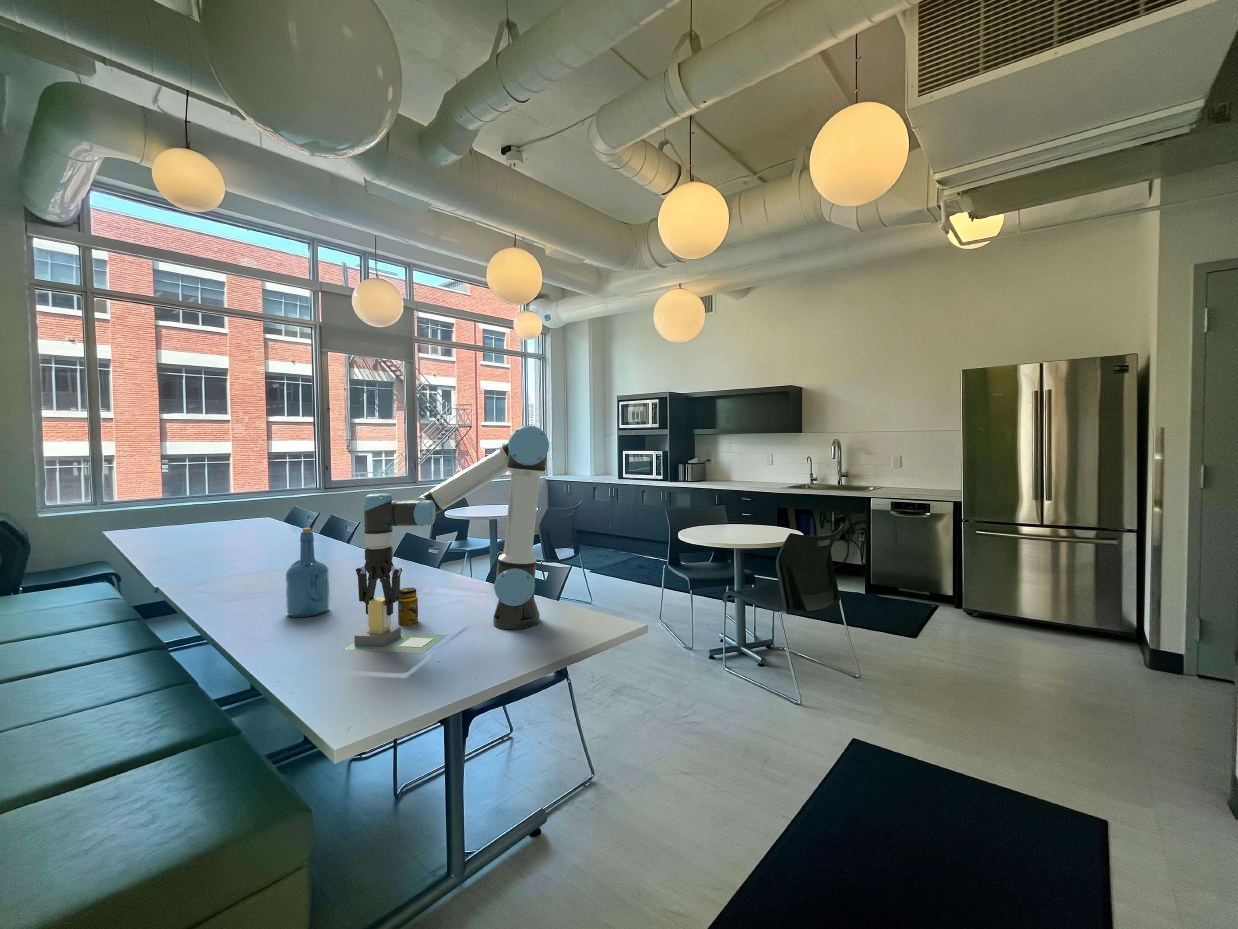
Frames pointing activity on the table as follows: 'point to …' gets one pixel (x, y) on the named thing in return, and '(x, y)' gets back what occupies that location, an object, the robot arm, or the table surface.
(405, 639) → the green board with socket
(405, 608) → the condiment
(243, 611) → the table surface
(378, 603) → the plug
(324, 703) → the table surface
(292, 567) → the wine bottle
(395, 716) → the table surface
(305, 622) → the table surface
